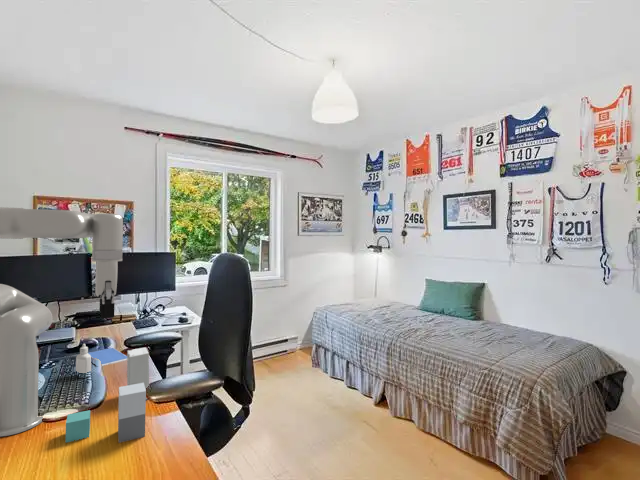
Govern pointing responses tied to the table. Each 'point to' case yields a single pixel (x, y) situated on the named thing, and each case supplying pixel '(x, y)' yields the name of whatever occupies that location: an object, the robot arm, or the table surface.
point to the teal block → (77, 426)
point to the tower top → (132, 400)
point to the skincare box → (138, 367)
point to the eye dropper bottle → (83, 360)
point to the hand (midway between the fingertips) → (106, 314)
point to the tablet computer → (108, 356)
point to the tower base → (131, 428)
